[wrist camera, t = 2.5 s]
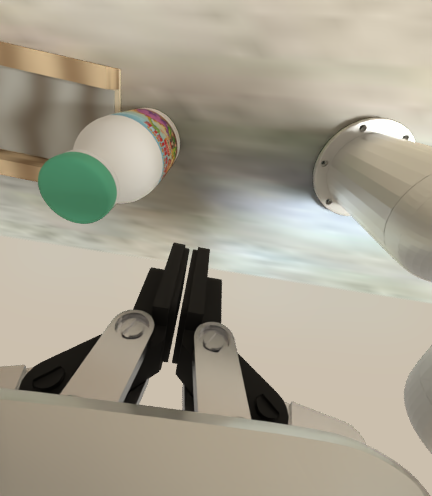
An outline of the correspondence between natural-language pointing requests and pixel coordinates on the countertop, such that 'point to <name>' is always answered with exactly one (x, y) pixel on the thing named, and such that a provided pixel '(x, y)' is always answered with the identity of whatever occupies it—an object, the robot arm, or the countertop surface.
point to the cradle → (48, 105)
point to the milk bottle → (110, 164)
